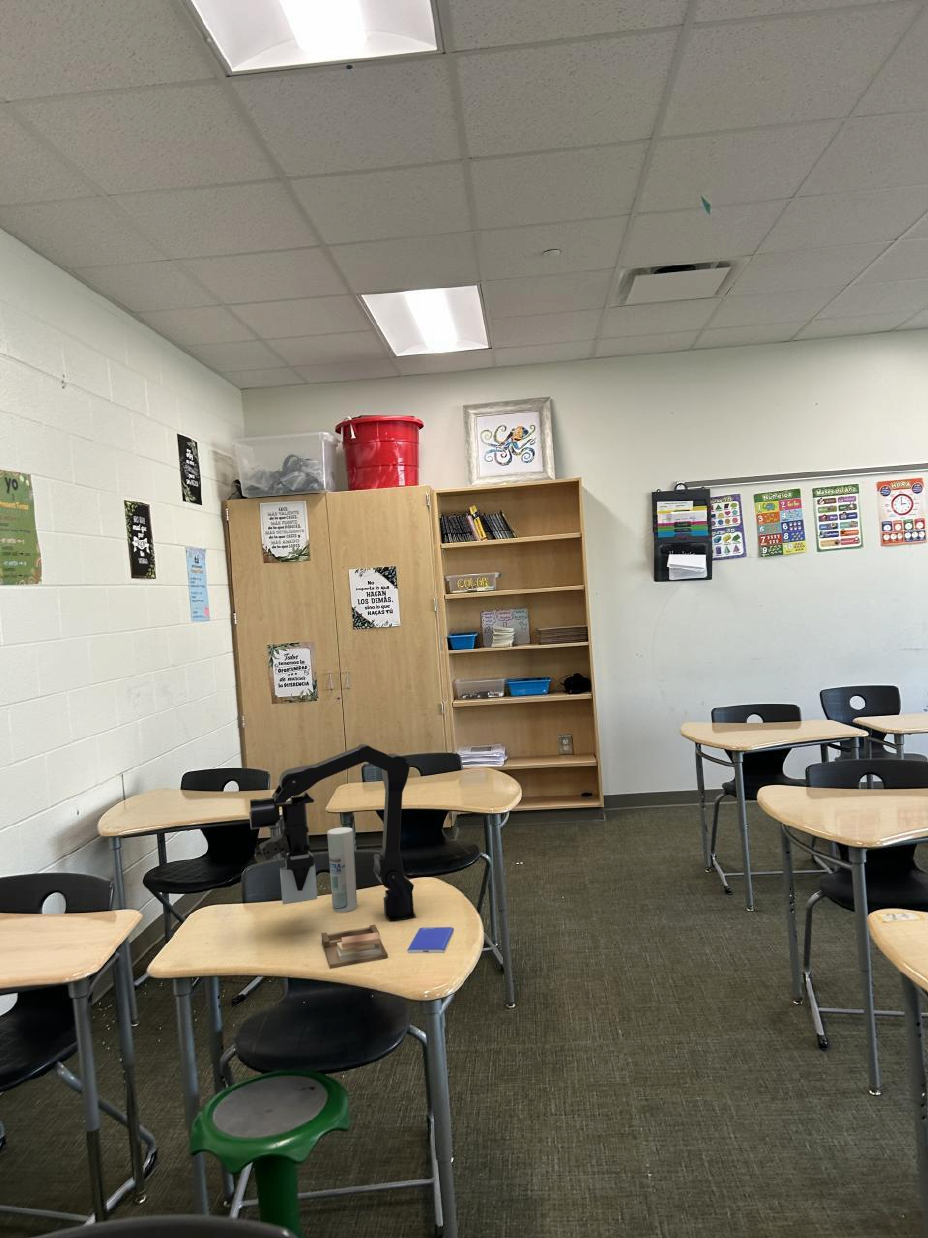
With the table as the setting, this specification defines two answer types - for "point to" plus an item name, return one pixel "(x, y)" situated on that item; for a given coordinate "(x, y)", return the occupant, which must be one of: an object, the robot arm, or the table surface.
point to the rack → (332, 939)
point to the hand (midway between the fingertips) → (299, 889)
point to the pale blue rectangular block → (290, 888)
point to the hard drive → (431, 940)
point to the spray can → (342, 869)
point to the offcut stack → (358, 946)
